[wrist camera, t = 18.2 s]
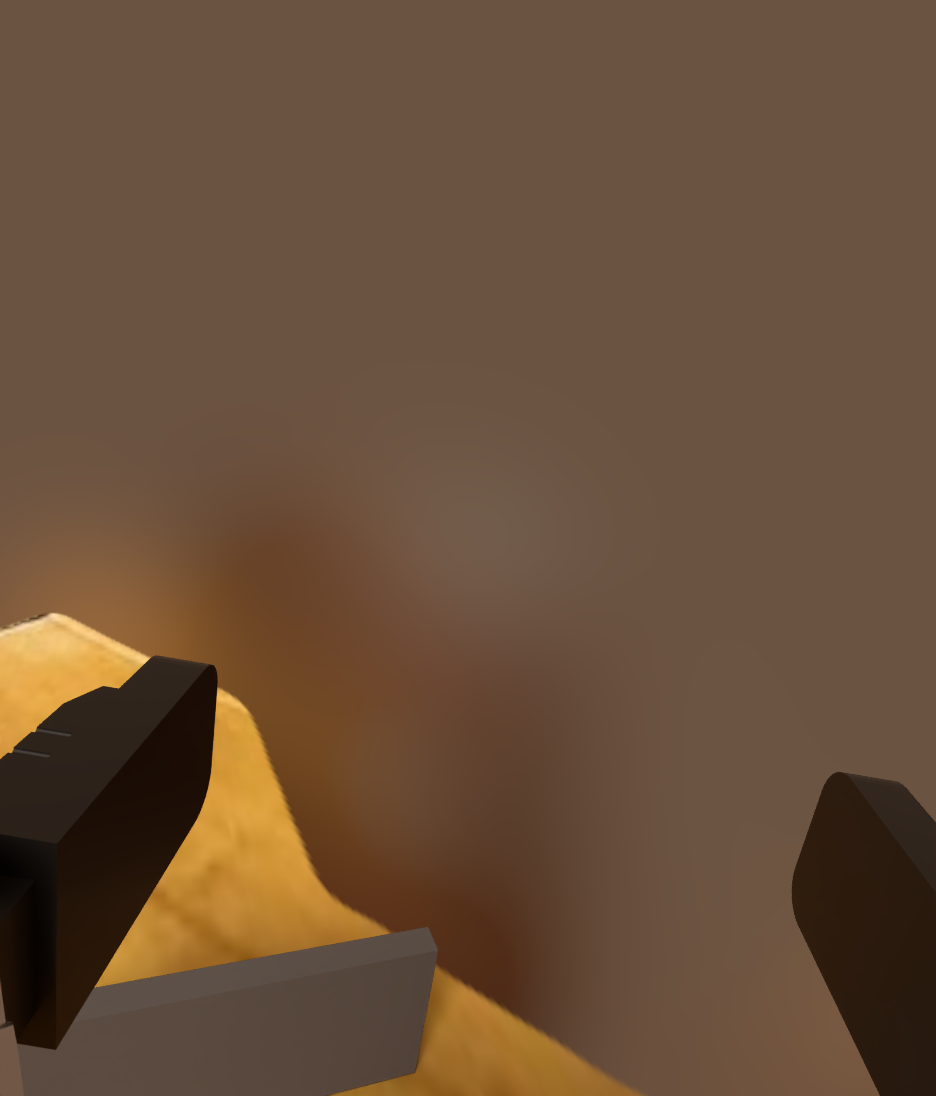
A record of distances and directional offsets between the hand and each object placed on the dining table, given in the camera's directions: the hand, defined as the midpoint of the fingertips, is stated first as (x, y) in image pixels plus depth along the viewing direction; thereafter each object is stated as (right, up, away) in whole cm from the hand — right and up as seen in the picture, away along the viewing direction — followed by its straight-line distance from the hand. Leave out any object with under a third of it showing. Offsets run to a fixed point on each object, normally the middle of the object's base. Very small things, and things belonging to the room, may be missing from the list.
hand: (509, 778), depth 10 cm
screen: (-13, -24, +26) cm, 38 cm away
